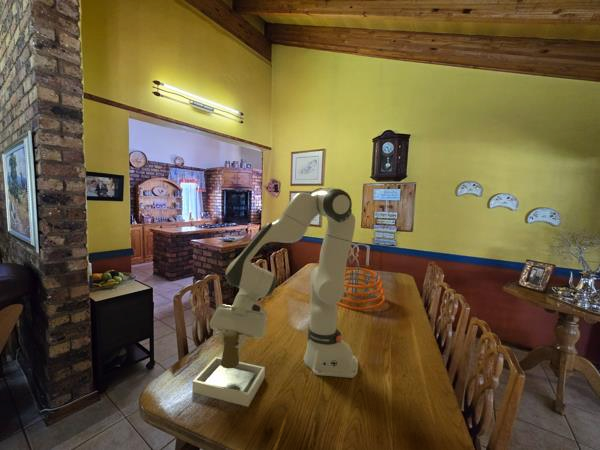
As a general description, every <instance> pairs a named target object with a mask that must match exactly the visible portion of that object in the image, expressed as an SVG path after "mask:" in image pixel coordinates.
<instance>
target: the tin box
mask: <svg viewBox="0 0 600 450" xmlns="http://www.w3.org/2000/svg"><path fill="white" fill-rule="evenodd" d="M254 380H255V373H253V372H249V371H244V370H240V369H235V368H230V369H227V368H224V367H222V366H221V365H220V366H219V367H218V368H217V369H216V370H215V371H214V373H213V374H212V375H211V376H210V377H209V378H208V379H207V381H206V383H210V384H214V385H219V386H223V387H227V388H231V389H235V390H239V391H243V392H247V391H248V390H249V388H250V386H251V385H252V383H253V381H254Z"/></svg>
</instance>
